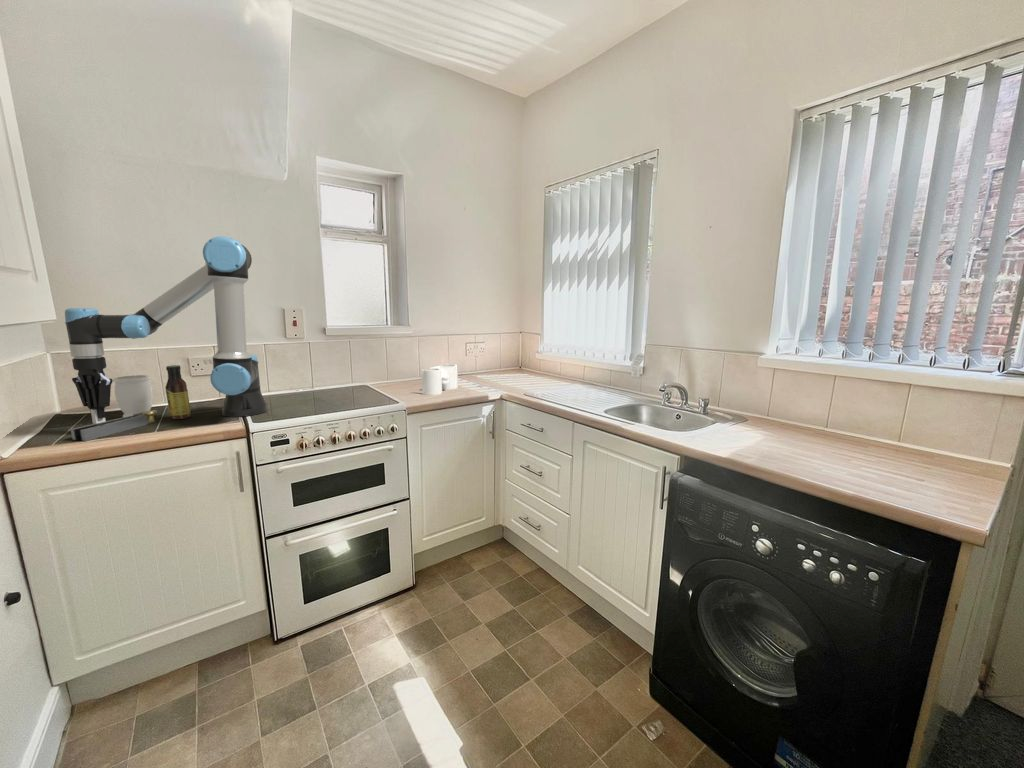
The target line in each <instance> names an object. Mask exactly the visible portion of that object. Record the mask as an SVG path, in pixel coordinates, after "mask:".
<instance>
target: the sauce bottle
mask: <svg viewBox="0 0 1024 768" xmlns="http://www.w3.org/2000/svg"><path fill="white" fill-rule="evenodd" d="M165 369H166V372H167V382H166V385H165V393H166V399H167V401H166V402H167V407H168V412H169V416H170V418H171V419H172V420H182V419H188V418H190V417H191V415H192V414H191V404H190V399H189V392H188V391H189V390H188V388H187V387H188V386H187V383H186V381H185V380H184V379H183V378H182V374H181V365H179V364H177V365H176V364H175V365H174V364H173V365H166V367H165Z"/></svg>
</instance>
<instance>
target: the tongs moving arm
mask: <svg viewBox="0 0 1024 768" xmlns="http://www.w3.org/2000/svg"><path fill="white" fill-rule="evenodd" d="M157 413H158V411H157V410H155V409H153V410H152V409H150V411H144V412H141V413H137V414H133V415H132V416H127V417H123V416H122V417H120V418H119V417H118V418H114V419H110V420H106V421H105V422H100V423H96V424H93V423H92V424H88V425H83V426H79V427H78V426H77V427H75V428H71V429H70V434H71V439H72V441H79V439H80V440H81V435H80V430H82V429H86V428H90V427H94V426H98V425H104V424H108V423H112V422H116V421H120V420H124V419H128V418H132V417H136V416H140V415H157Z"/></svg>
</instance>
